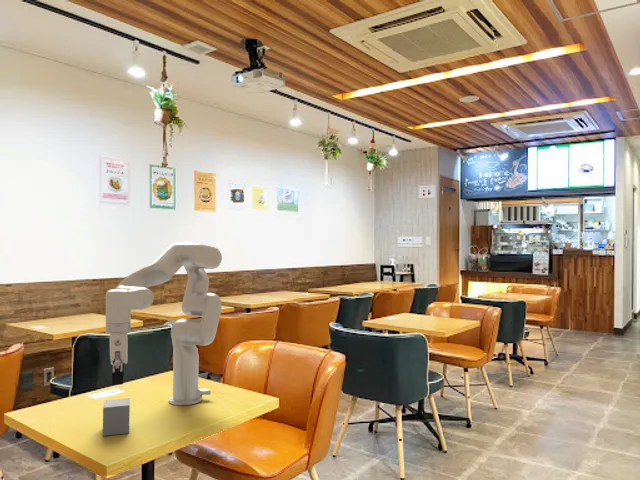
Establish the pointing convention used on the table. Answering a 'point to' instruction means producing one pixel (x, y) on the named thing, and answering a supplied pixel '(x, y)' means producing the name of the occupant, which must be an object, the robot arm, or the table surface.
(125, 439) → the table surface
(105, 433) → the grey tapered block
